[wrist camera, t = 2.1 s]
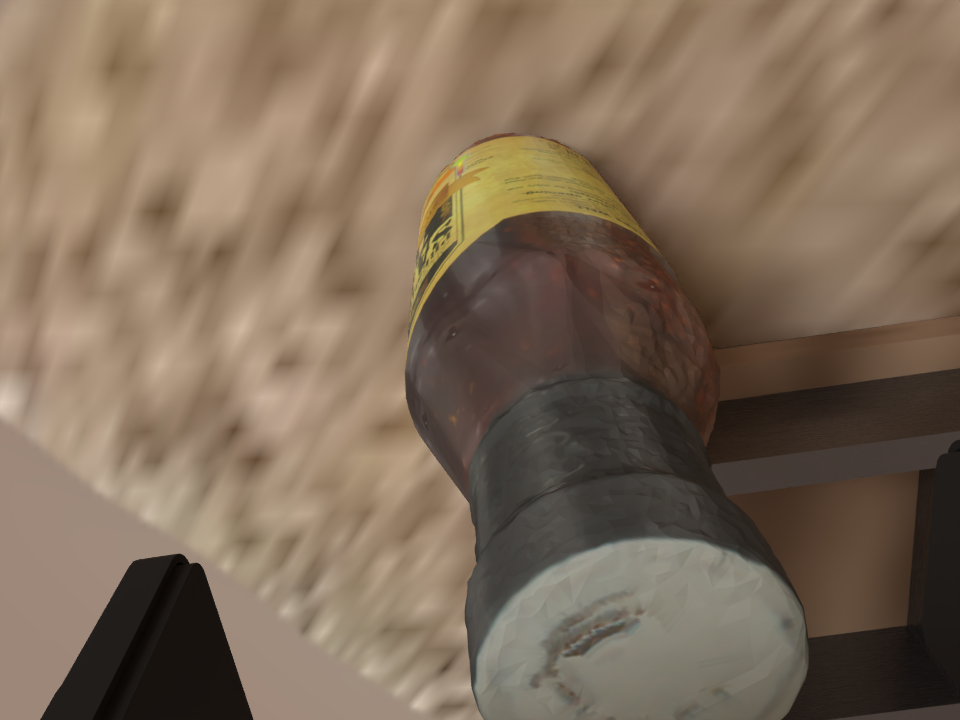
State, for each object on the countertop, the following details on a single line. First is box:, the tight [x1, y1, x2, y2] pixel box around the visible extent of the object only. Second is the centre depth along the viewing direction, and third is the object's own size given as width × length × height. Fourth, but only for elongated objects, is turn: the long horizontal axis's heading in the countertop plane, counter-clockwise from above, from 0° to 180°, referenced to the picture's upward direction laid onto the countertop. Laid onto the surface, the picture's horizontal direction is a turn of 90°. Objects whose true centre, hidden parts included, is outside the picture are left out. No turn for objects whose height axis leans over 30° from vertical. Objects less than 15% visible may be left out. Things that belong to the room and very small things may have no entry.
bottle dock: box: [706, 316, 960, 720], centre depth 30 cm, size 16×15×6 cm
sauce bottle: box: [405, 133, 809, 720], centre depth 18 cm, size 7×6×20 cm
